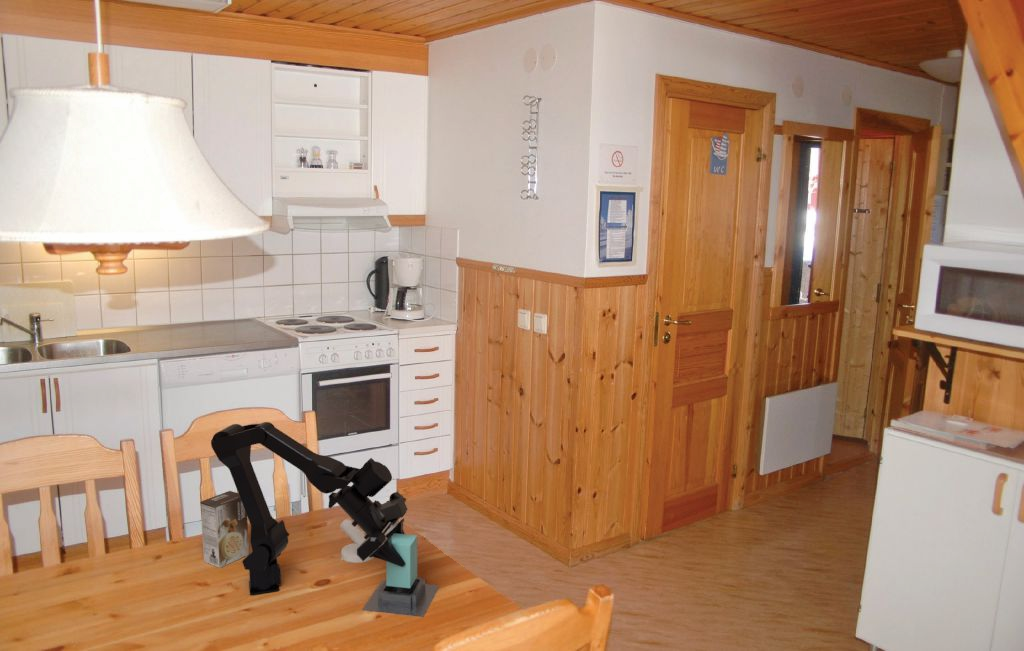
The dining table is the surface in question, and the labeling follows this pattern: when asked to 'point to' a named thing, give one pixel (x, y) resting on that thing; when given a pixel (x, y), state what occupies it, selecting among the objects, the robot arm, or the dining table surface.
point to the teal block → (408, 552)
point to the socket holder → (402, 598)
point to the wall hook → (351, 550)
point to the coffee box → (224, 529)
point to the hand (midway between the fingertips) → (407, 559)
